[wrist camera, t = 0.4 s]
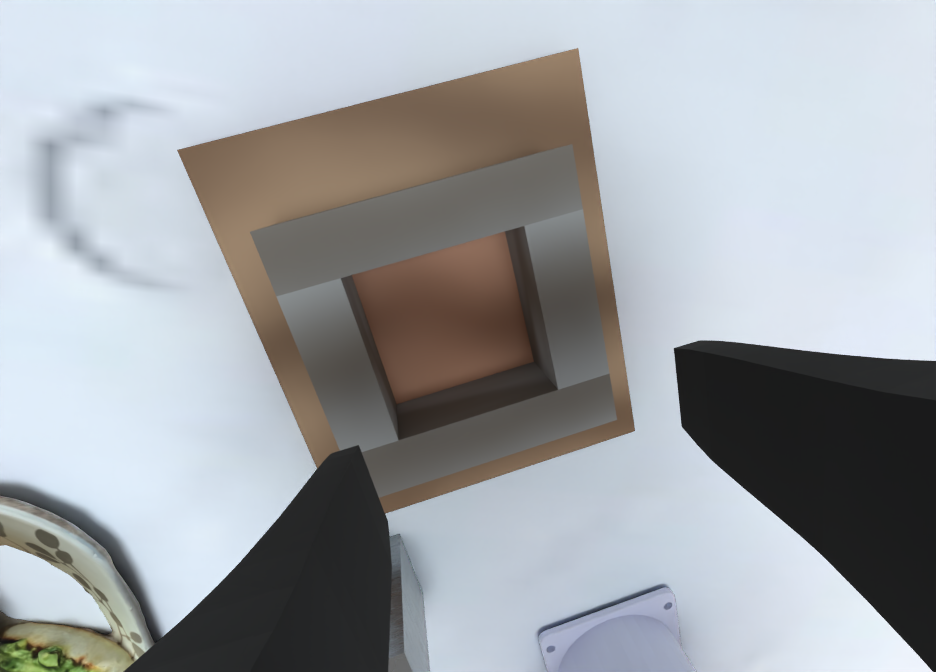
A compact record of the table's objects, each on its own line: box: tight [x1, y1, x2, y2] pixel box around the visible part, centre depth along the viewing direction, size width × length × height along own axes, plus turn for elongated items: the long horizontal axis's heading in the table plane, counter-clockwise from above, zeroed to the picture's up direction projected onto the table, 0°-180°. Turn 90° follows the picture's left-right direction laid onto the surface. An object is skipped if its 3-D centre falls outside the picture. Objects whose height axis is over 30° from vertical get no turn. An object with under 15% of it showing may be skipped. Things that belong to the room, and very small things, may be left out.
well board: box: [177, 48, 635, 513], centre depth 17 cm, size 16×14×4 cm
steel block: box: [388, 534, 430, 672], centre depth 20 cm, size 4×4×6 cm
